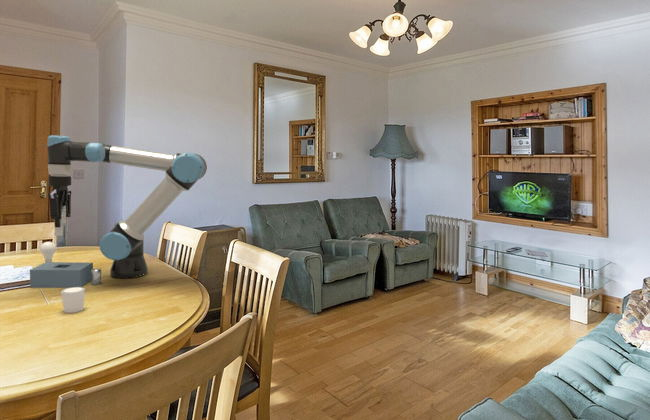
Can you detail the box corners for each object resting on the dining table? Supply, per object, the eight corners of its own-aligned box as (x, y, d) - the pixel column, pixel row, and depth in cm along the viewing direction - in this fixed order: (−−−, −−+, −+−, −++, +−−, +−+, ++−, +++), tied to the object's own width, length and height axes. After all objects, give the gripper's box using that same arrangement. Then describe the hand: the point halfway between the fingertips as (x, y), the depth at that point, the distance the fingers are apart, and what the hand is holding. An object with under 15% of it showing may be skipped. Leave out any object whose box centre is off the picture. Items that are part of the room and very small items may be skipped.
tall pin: (68, 244, 165) (67, 205, 163) (64, 246, 161) (63, 206, 159) (59, 244, 164) (57, 205, 162) (54, 246, 161) (53, 206, 159)
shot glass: (79, 304, 142) (79, 285, 142) (89, 309, 138) (88, 289, 138) (58, 309, 137) (57, 289, 136) (67, 315, 133) (66, 294, 132)
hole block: (93, 278, 172) (92, 262, 171) (80, 287, 160) (79, 270, 159) (46, 278, 169) (46, 262, 168) (30, 287, 157) (29, 269, 157)
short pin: (102, 282, 167) (102, 268, 167) (99, 285, 164) (99, 270, 163) (93, 282, 167) (93, 268, 166) (90, 285, 164) (89, 270, 163)
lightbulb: (39, 267, 185) (38, 243, 184) (41, 263, 191) (40, 240, 189) (56, 266, 188) (55, 242, 187) (57, 262, 194) (56, 240, 192)
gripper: (60, 174, 167) (61, 230, 170) (37, 175, 151) (39, 238, 154) (79, 175, 168) (80, 230, 171) (59, 176, 152) (61, 238, 155)
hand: (61, 234), depth 162 cm, fingers closed on tall pin, 3 cm apart
